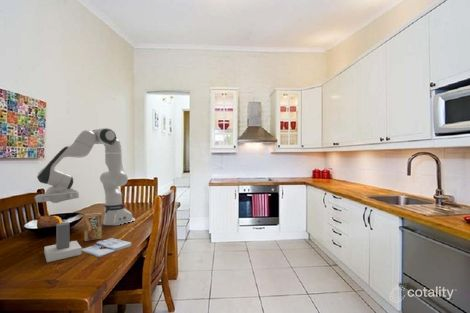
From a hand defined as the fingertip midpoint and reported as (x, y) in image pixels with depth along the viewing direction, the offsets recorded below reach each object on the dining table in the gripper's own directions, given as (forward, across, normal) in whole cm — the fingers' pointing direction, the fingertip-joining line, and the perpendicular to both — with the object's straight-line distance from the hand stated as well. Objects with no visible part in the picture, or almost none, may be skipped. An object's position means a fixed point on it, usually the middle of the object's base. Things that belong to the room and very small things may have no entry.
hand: (59, 198), depth 135 cm
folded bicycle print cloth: (+19, +18, +28) cm, 39 cm away
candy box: (-1, +16, +27) cm, 32 cm away
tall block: (+14, 0, +23) cm, 27 cm away
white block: (+14, -1, +27) cm, 30 cm away
